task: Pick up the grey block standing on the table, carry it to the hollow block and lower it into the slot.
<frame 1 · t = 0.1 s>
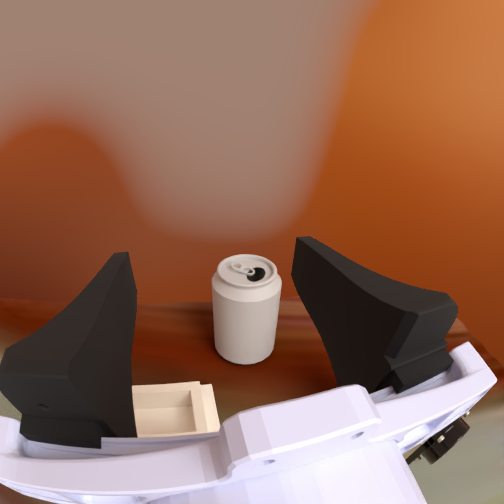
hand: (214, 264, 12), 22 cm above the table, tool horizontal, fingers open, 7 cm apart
pneumatic valve: (376, 444, 23), on the table
hollow block: (152, 431, 24), on the table
can: (244, 347, 36), on the table
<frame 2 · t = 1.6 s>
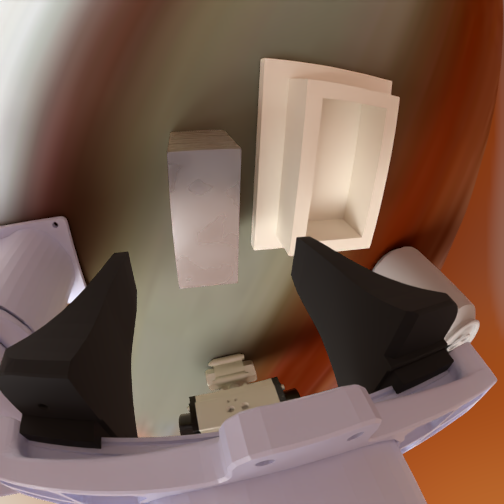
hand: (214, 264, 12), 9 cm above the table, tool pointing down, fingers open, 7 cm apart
pneumatic valve: (227, 359, 31), on the table
hollow block: (320, 158, 21), on the table
grey block: (197, 186, 20), on the table
can: (390, 270, 30), on the table
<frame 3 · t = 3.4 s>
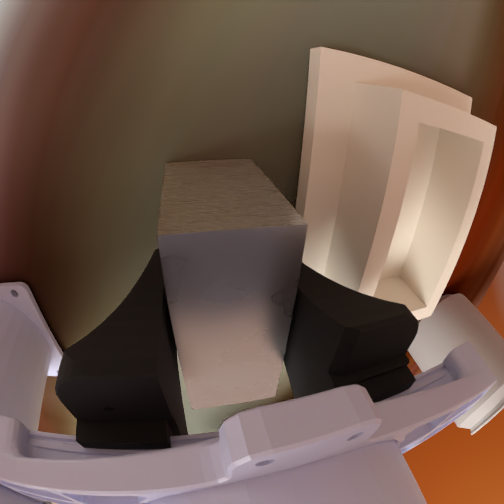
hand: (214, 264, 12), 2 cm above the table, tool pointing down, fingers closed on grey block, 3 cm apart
hollow block: (381, 199, 15), on the table
grey block: (210, 244, 14), on the table, touching gripper
can: (431, 317, 24), on the table
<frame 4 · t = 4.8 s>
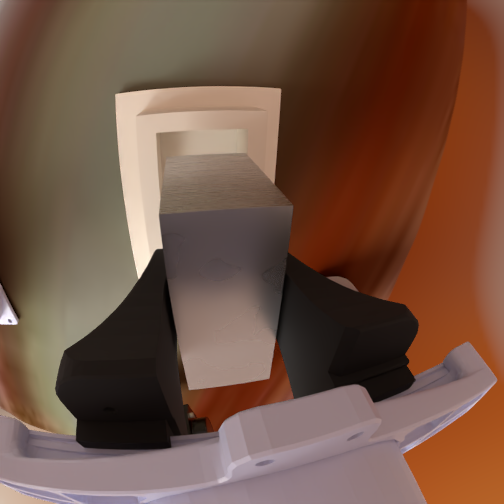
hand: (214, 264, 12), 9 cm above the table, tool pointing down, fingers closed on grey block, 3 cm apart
pneumatic valve: (151, 380, 30), on the table
hollow block: (198, 189, 20), on the table
grey block: (207, 234, 14), point 6 cm above the table, touching gripper
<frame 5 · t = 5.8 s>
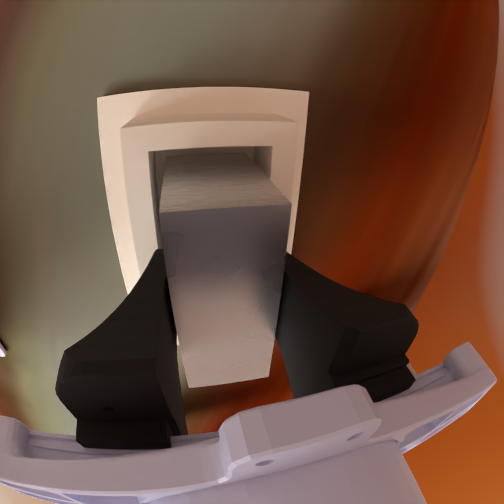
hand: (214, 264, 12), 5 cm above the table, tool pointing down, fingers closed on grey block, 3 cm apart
hollow block: (204, 215, 16), on the table
grey block: (207, 233, 15), point 2 cm above the table, touching gripper
when the fingers open (5 cm above the table, at t = 6.3 s): grey block stays where it is, resting on hollow block.
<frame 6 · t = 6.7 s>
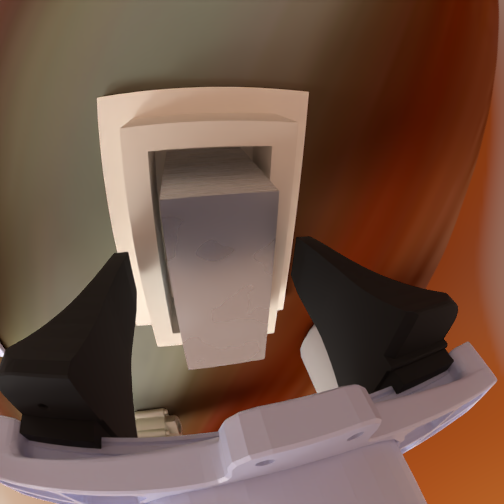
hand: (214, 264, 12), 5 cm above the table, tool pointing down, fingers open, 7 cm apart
pneumatic valve: (153, 411, 27), on the table
hollow block: (204, 215, 16), on the table
grey block: (206, 223, 15), point 1 cm above the table, touching hollow block
can: (334, 329, 25), on the table
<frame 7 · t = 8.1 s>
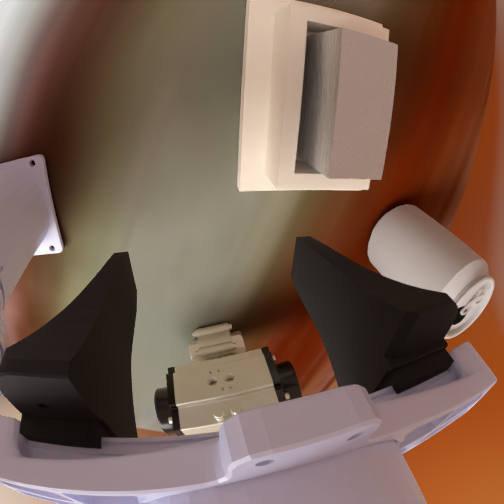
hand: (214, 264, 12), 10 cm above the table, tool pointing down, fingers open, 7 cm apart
pneumatic valve: (213, 330, 29), on the table
hollow block: (310, 95, 18), on the table
grey block: (317, 96, 18), point 1 cm above the table, touching hollow block
can: (392, 233, 27), on the table
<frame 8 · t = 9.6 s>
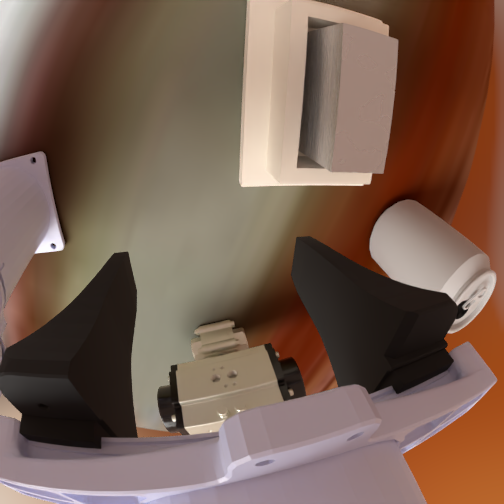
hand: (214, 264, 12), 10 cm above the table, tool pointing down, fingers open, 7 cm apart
pneumatic valve: (215, 328, 29), on the table
hollow block: (311, 91, 18), on the table
grey block: (318, 92, 18), point 1 cm above the table, touching hollow block
can: (393, 228, 27), on the table
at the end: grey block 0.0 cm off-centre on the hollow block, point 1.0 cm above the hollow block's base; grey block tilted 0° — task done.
